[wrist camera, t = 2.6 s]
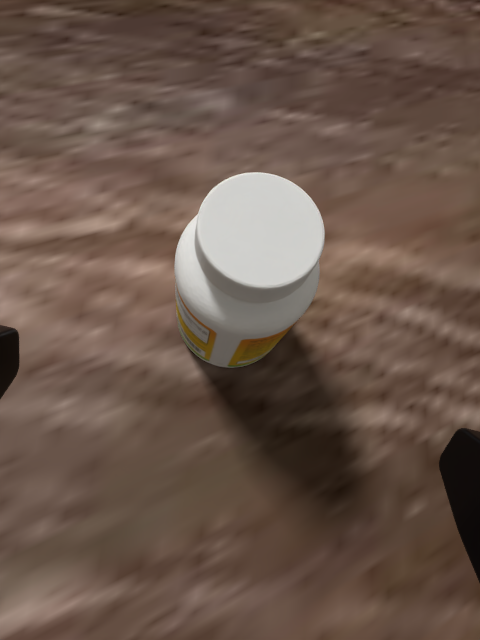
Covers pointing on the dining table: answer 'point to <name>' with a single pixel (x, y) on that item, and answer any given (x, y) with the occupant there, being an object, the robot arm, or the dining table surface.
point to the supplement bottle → (247, 268)
